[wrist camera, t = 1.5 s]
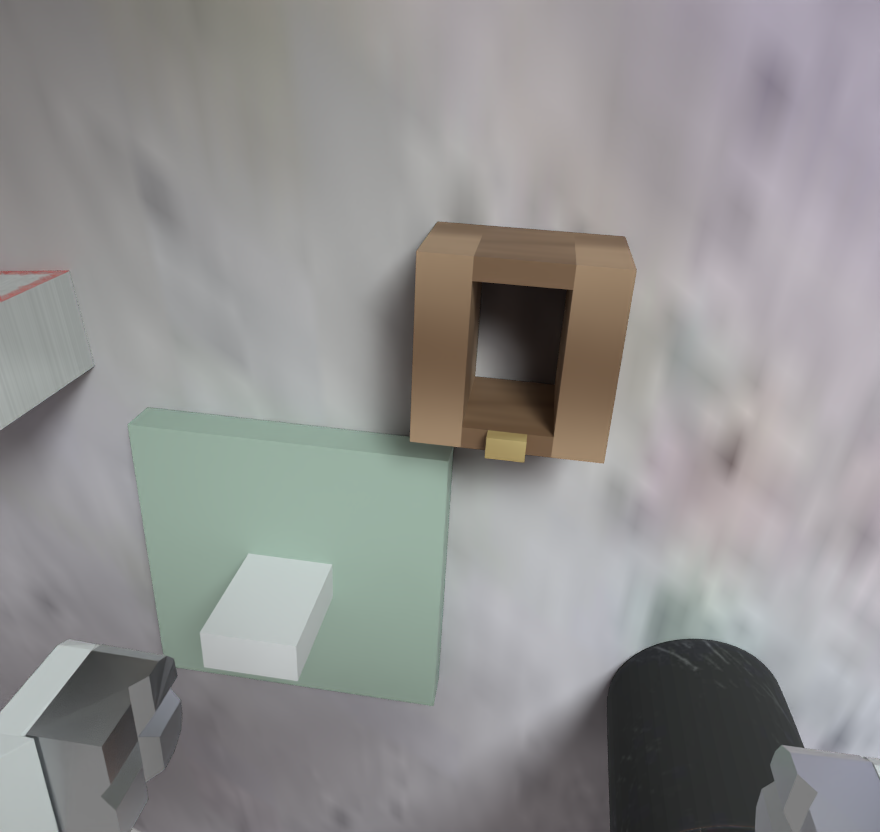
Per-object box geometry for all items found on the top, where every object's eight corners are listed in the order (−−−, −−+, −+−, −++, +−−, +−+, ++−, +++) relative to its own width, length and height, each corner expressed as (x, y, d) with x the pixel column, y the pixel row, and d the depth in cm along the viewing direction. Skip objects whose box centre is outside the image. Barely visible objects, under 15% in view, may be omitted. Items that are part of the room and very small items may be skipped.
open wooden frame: (437, 221, 24) (413, 256, 20) (625, 236, 24) (638, 274, 20) (429, 389, 27) (406, 449, 23) (598, 407, 26) (604, 471, 22)
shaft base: (147, 407, 29) (54, 488, 24) (453, 441, 28) (428, 535, 22) (180, 641, 34) (110, 750, 29) (438, 679, 33) (415, 800, 28)
